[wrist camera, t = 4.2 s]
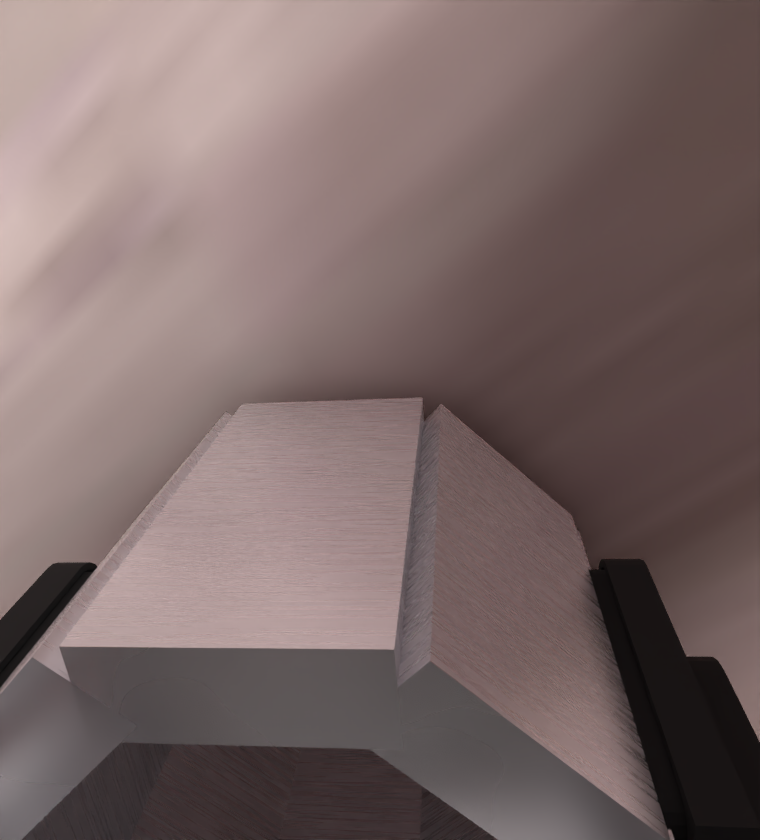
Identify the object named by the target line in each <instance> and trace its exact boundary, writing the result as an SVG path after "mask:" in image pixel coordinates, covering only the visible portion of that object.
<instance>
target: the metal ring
mask: <svg viewBox="0 0 760 840" xmlns="http://www.w3.org/2000/svg"><path fill="white" fill-rule="evenodd" d="M589 570H591V568H590V565H589V562H588V558H587V555H586V552H585V549H584V545H583V542H582V539H581V536H580V532H579V530H576V527H575V524H574V520H573V517H572V515H571V514H570V513H569V512H567V511H566V510H565V509H564V508H563V507H562V506H560V505H559V504H558V503H557V502H556V501H555V500H553V499H552V498H551V497H550V496H549V495H548V494H546V493H545V492H544V491H543V490H542V489H541V488H539V487H538V486H537V485H536V484H535V483H533V482H532V481H531V480H530V479H529V478H528V477H526V476H525V475H524V474H523V473H522V472H521V471H519V470H518V469H517V468H516V467H515V466H514V465H512V464H511V463H510V462H509V461H508V460H507V459H505V458H504V457H503V456H502V455H501V454H500V453H498V452H497V451H496V450H495V449H494V448H492V447H491V446H490V445H489V444H488V443H487V442H485V441H484V440H483V439H482V438H481V437H480V436H478V435H477V434H476V433H475V432H474V431H473V430H471V429H470V428H469V427H468V426H467V425H466V424H464V423H463V422H462V421H461V420H460V419H459V418H457V417H456V416H455V415H454V414H453V413H452V412H450V411H449V410H448V409H447V408H446V407H444V406H443V405H442V404H440V405H439V406H438V407H437V408H436V409H435V410H434V411H433V412H432V413H431V414H430V415H429V416H428V417H427V418H426V419H425V420H424V414H423V397H417V398H389V399H361V400H333V401H305V402H277V403H249V404H242V405H241V406H240V407H239V409H238V410H237V411H236V412H235V414H234V415H233V416H232V415H230V414H229V413H228V412H227V411H226V412H225V413H224V414H223V416H222V417H221V418H220V419H219V420H218V422H217V423H216V424H215V425H214V426H213V427H212V429H211V430H210V431H209V432H208V433H207V435H206V436H205V437H204V438H203V439H202V441H201V442H200V443H199V444H198V445H197V447H196V448H195V449H194V450H193V451H192V453H191V454H190V455H189V456H188V457H187V459H186V460H185V461H184V462H183V463H182V465H181V466H180V467H179V468H178V469H177V470H176V472H175V473H174V474H173V475H172V476H171V478H170V479H169V480H168V481H167V482H166V484H165V485H164V486H163V487H162V488H161V490H160V491H159V492H158V493H157V494H156V496H155V497H154V498H153V499H152V500H151V502H150V503H149V504H148V505H147V506H146V508H145V509H144V510H143V511H142V512H141V513H140V515H139V516H138V517H137V518H136V519H135V521H134V522H133V523H132V524H131V526H130V527H129V528H128V529H127V531H126V532H125V533H124V534H123V536H122V537H121V538H120V539H119V541H118V542H117V543H116V544H115V545H114V547H113V548H112V549H111V550H110V552H109V553H108V554H107V555H106V557H105V558H104V559H103V560H102V562H101V563H100V564H99V565H98V567H97V568H96V569H95V570H94V572H93V573H92V574H91V575H90V577H89V578H88V579H87V580H86V582H85V583H84V584H83V585H82V587H81V588H80V589H79V590H78V592H77V593H76V594H75V595H74V597H73V598H72V599H71V600H70V602H69V603H68V604H67V605H66V607H65V608H64V609H63V610H62V611H61V613H60V614H59V615H58V616H57V618H56V619H55V620H54V621H53V623H52V624H51V625H50V626H49V628H48V629H47V630H46V631H45V633H44V634H43V635H42V636H41V638H40V639H39V640H38V641H37V643H36V644H35V645H34V646H33V648H32V649H31V650H30V651H29V653H28V654H27V655H26V656H25V658H24V659H23V660H22V661H21V663H20V664H19V665H18V666H17V668H16V669H15V670H14V671H13V673H12V674H11V675H10V676H9V677H8V679H7V680H6V681H5V682H4V684H3V685H2V686H1V687H0V840H674V837H673V834H672V830H671V829H667V827H666V824H665V821H664V817H663V814H662V811H661V807H660V804H659V801H658V797H657V794H656V791H655V788H654V784H653V781H652V778H651V774H650V771H649V768H648V764H647V761H646V758H645V755H644V751H643V748H642V745H641V741H640V738H639V735H638V731H637V728H636V725H635V722H634V718H633V715H632V712H631V708H630V705H629V702H628V698H627V695H626V692H625V689H624V685H623V682H622V679H621V675H620V672H619V669H618V666H617V662H616V659H615V656H614V652H613V649H612V646H611V642H610V639H609V636H608V633H607V629H606V626H605V623H604V619H603V616H602V613H601V609H600V606H599V603H598V600H597V596H596V593H595V590H594V586H593V583H592V580H591V576H590V573H589Z"/></svg>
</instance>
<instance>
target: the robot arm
mask: <svg viewBox="0 0 760 840" xmlns="http://www.w3.org/2000/svg"><path fill="white" fill-rule="evenodd" d="M96 568H97V566H96V565H95V564H93V563H90V562H88V563H55V564H52V565H51V566H50V567H49V568H48V569H47V570H46V571H45V572H44V573H43V574H42V575H41V576H40V577H39V578H38V579H37V581H36V582H35V583H34V584H33V585H32V586H31V587H30V588H29V589H28V590H27V591H26V593H25V594H24V595H23V596H22V597H21V598H20V599H19V600H18V601H17V602H16V603H15V605H14V606H13V607H12V608H11V609H10V610H9V611H8V612H7V613H6V614H5V616H4V617H3V618H2V619H1V620H0V687H1V686H2V685H3V684H4V682H5V681H6V680H7V679H8V677H9V676H10V675H11V674H12V673H13V671H14V670H15V669H16V668H17V666H18V665H19V664H20V663H21V661H22V660H23V659H24V658H25V656H26V655H27V654H28V653H29V651H30V650H31V649H32V648H33V646H34V645H35V644H36V643H37V641H38V640H39V639H40V638H41V636H42V635H43V634H44V633H45V631H46V630H47V629H48V628H49V626H50V625H51V624H52V623H53V621H54V620H55V619H56V618H57V616H58V615H59V614H60V613H61V611H62V610H63V609H64V608H65V607H66V605H67V604H68V603H69V602H70V600H71V599H72V598H73V597H74V595H75V594H76V593H77V592H78V590H79V589H80V588H81V587H82V585H83V584H84V583H85V582H86V580H87V579H88V578H89V577H90V575H91V574H92V573H93V572H94V570H95V569H96ZM589 573H590V576H591V580H592V583H593V586H594V590H595V593H596V596H597V600H598V603H599V606H600V609H601V613H602V616H603V619H604V623H605V626H606V629H607V633H608V636H609V639H610V642H611V646H612V649H613V652H614V656H615V659H616V662H617V666H618V669H619V672H620V675H621V679H622V682H623V685H624V689H625V692H626V695H627V698H628V702H629V705H630V708H631V712H632V715H633V718H634V722H635V725H636V728H637V731H638V735H639V738H640V741H641V745H642V748H643V751H644V755H645V758H646V761H647V764H648V768H649V771H650V774H651V778H652V781H653V784H654V788H655V791H656V794H657V797H658V801H659V804H660V807H661V811H662V814H663V817H664V821H665V824H666V827H667V829H671V830H672V834H673V837H674V840H760V742H759V740H758V738H757V736H756V734H755V732H754V730H753V728H752V726H751V724H750V722H749V720H748V718H747V716H746V714H745V712H744V710H743V708H742V706H741V704H740V702H739V700H738V698H737V696H736V694H735V692H734V690H733V687H732V685H731V683H730V681H729V679H728V677H727V675H726V673H725V671H724V670H723V668H722V666H721V665H720V663H719V662H718V661H717V660H716V659H715V658H714V657H686V655H685V653H684V650H683V648H682V646H681V644H680V641H679V639H678V637H677V634H676V632H675V630H674V628H673V625H672V623H671V621H670V618H669V616H668V614H667V611H666V609H665V607H664V605H663V602H662V600H661V598H660V595H659V593H658V591H657V588H656V586H655V584H654V582H653V579H652V577H651V575H650V572H649V570H648V568H647V566H646V564H645V562H644V560H642V559H602V560H601V561H600V565H599V570H589Z"/></svg>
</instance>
